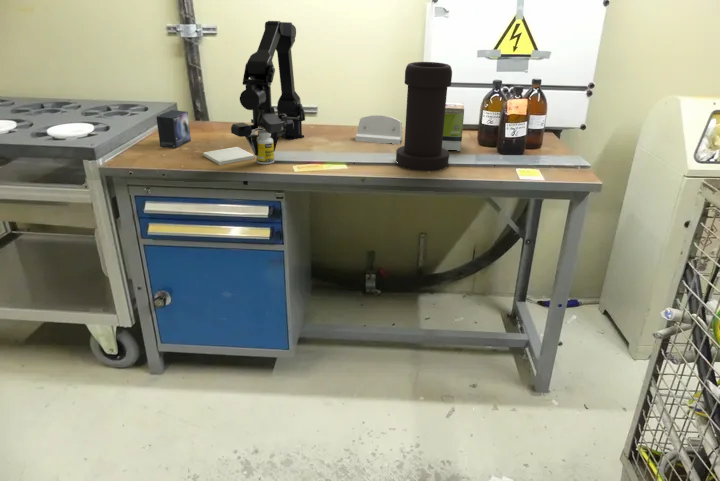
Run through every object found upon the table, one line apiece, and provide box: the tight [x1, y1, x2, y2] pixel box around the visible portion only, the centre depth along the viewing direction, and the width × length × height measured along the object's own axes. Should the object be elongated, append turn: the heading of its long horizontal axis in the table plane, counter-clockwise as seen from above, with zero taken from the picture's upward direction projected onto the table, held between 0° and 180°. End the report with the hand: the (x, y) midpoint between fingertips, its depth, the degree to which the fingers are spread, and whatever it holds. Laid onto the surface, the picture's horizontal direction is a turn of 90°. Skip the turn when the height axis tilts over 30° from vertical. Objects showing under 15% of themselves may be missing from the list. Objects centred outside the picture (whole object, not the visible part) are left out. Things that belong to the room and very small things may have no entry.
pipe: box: [395, 61, 453, 172], centre depth 163 cm, size 16×16×30 cm
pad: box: [202, 146, 256, 166], centre depth 170 cm, size 12×12×1 cm
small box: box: [155, 109, 192, 149], centre depth 181 cm, size 11×6×10 cm, turn 168°
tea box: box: [442, 102, 465, 152], centre depth 183 cm, size 15×10×15 cm, turn 81°
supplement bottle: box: [256, 129, 275, 165], centre depth 164 cm, size 5×5×10 cm
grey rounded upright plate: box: [355, 114, 403, 145], centre depth 191 cm, size 17×5×10 cm, turn 77°
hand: (264, 154), depth 166 cm, fingers closed on supplement bottle, 5 cm apart
